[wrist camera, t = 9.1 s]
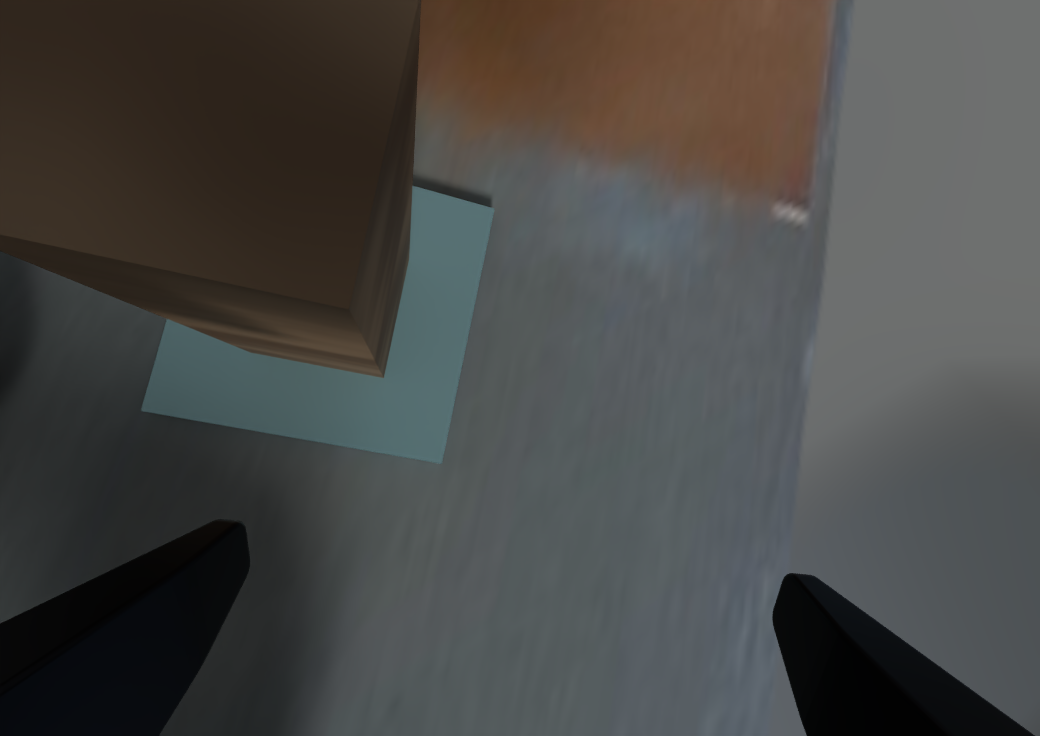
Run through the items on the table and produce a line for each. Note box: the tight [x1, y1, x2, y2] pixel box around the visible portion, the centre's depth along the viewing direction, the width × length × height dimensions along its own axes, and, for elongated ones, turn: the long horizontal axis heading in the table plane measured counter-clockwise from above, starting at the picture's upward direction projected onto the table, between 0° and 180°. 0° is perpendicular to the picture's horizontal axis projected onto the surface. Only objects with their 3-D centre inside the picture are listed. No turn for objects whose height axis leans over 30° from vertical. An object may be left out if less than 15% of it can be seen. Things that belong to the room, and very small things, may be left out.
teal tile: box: [141, 186, 494, 464], centre depth 21 cm, size 11×11×1 cm
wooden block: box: [0, 0, 421, 378], centre depth 14 cm, size 5×5×14 cm
